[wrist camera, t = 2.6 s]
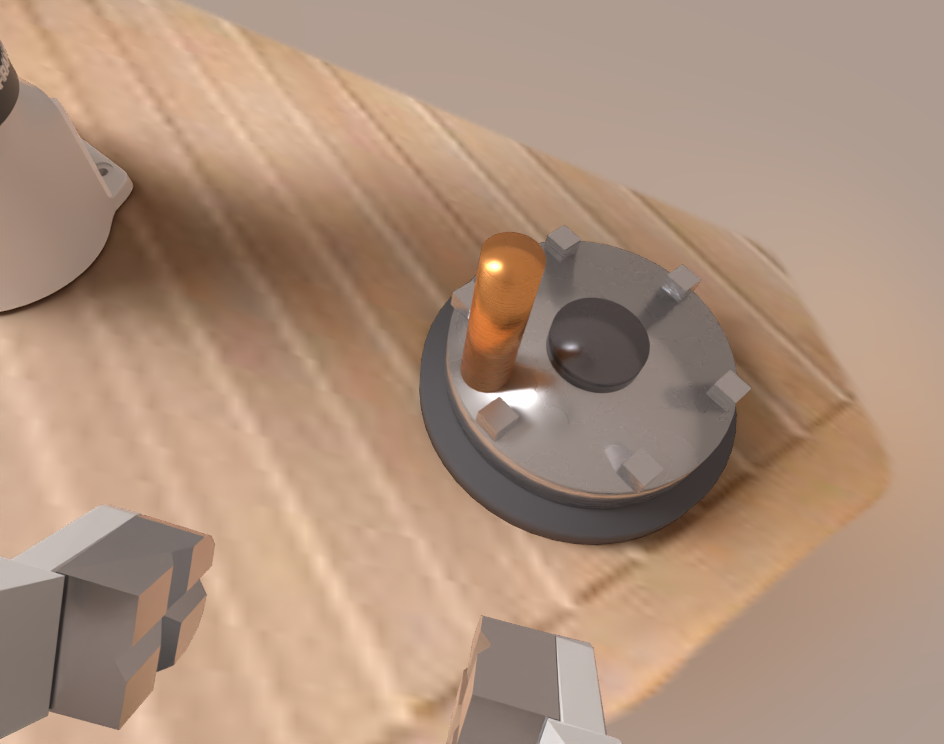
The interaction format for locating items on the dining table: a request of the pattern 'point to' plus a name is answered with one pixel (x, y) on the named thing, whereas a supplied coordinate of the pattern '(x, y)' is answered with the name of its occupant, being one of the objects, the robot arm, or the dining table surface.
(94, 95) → the dining table surface
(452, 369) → the round lugged disc
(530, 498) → the base plate
